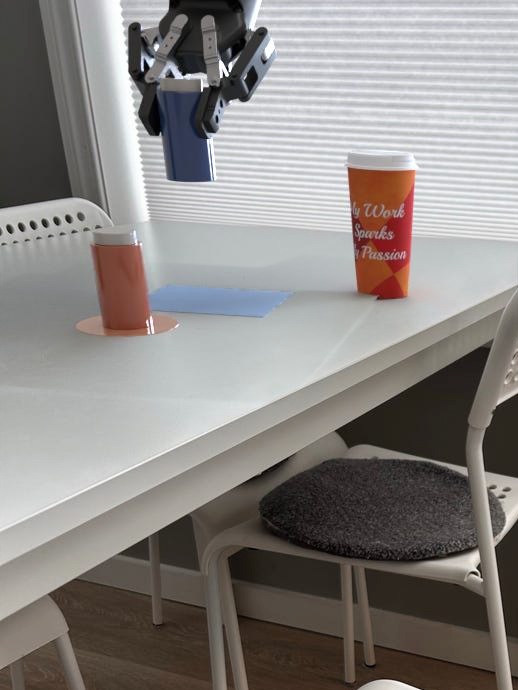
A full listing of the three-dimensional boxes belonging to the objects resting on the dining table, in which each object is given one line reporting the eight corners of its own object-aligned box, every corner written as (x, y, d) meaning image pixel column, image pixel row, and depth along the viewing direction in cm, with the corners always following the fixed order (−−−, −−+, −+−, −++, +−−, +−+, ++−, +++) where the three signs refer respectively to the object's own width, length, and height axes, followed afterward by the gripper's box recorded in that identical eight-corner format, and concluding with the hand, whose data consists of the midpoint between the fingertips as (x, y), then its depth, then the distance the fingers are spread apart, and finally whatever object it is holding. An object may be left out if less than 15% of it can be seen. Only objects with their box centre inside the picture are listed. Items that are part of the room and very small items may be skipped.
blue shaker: (159, 181, 85) (145, 77, 81) (177, 176, 89) (165, 77, 85) (207, 183, 85) (196, 79, 81) (223, 178, 88) (213, 78, 84)
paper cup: (336, 296, 103) (331, 152, 96) (364, 284, 109) (361, 147, 102) (403, 303, 101) (403, 157, 94) (428, 290, 107) (430, 152, 100)
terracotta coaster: (58, 337, 84) (57, 332, 84) (101, 315, 91) (100, 310, 91) (157, 343, 83) (157, 338, 83) (192, 320, 91) (192, 316, 91)
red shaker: (94, 328, 85) (78, 232, 81) (114, 317, 89) (100, 225, 85) (141, 331, 85) (128, 235, 81) (159, 320, 89) (147, 228, 85)
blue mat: (123, 312, 93) (122, 308, 92) (167, 288, 103) (167, 284, 103) (263, 321, 92) (263, 316, 92) (294, 296, 102) (294, 292, 102)
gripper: (132, -66, 84) (79, 93, 81) (282, -64, 82) (234, 100, 78) (169, 8, 92) (122, 157, 88) (308, 13, 89) (266, 166, 85)
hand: (175, 130), depth 83 cm, fingers closed on blue shaker, 4 cm apart
